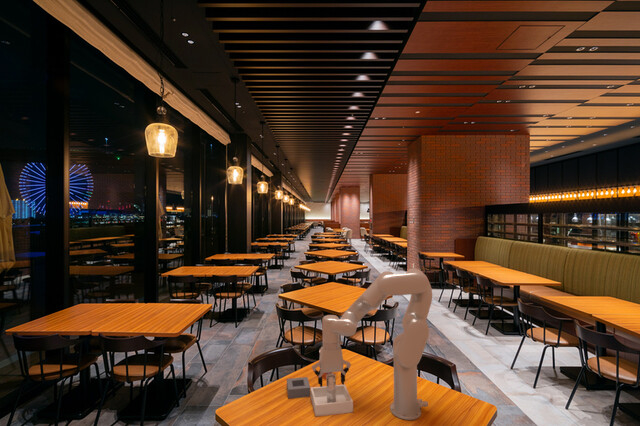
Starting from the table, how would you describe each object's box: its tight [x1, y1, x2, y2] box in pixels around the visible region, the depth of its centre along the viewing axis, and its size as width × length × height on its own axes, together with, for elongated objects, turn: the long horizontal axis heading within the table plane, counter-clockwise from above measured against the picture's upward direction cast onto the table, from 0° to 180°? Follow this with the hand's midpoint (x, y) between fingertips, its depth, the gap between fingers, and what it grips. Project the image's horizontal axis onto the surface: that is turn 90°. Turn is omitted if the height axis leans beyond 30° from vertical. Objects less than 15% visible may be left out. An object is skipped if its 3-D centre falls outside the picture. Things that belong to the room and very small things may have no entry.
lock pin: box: [325, 372, 337, 403], centre depth 137 cm, size 4×4×12 cm
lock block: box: [286, 376, 311, 400], centre depth 147 cm, size 10×10×4 cm
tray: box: [310, 384, 354, 417], centre depth 137 cm, size 16×14×4 cm
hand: (331, 384), depth 137 cm, fingers open, 9 cm apart
